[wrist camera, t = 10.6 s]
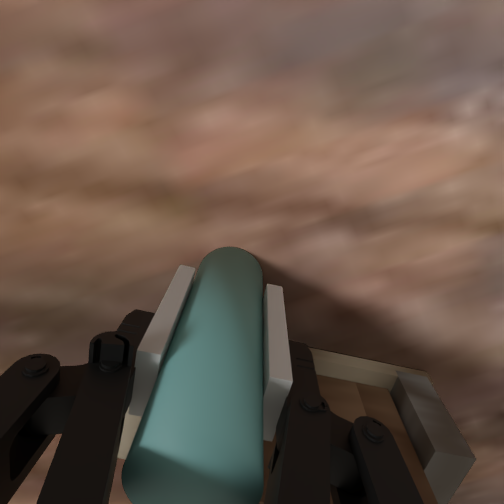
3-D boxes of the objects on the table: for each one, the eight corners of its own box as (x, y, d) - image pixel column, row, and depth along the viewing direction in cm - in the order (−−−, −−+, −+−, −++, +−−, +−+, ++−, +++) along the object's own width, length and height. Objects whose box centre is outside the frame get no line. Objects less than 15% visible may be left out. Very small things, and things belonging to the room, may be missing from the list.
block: (211, 465, 25) (189, 621, 17) (239, 358, 21) (227, 495, 14) (340, 489, 25) (372, 650, 18) (387, 388, 22) (452, 536, 14)
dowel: (193, 297, 21) (115, 517, 10) (204, 240, 20) (128, 419, 9) (254, 310, 21) (246, 539, 10) (269, 254, 20) (279, 448, 9)
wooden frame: (118, 444, 26) (78, 539, 20) (135, 311, 21) (90, 383, 16) (365, 490, 27) (393, 592, 21) (426, 371, 23) (480, 459, 17)
